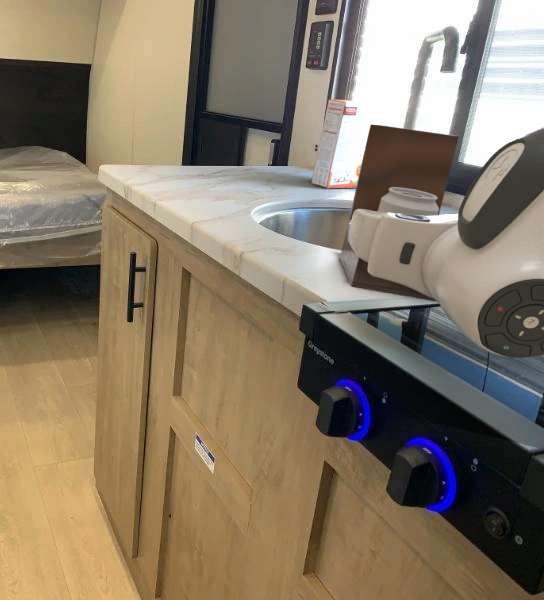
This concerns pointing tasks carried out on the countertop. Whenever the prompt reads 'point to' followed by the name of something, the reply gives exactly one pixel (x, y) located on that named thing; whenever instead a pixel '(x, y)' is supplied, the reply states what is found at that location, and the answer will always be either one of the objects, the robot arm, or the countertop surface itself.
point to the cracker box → (344, 142)
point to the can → (408, 202)
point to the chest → (364, 279)
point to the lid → (403, 164)
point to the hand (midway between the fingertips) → (429, 226)
